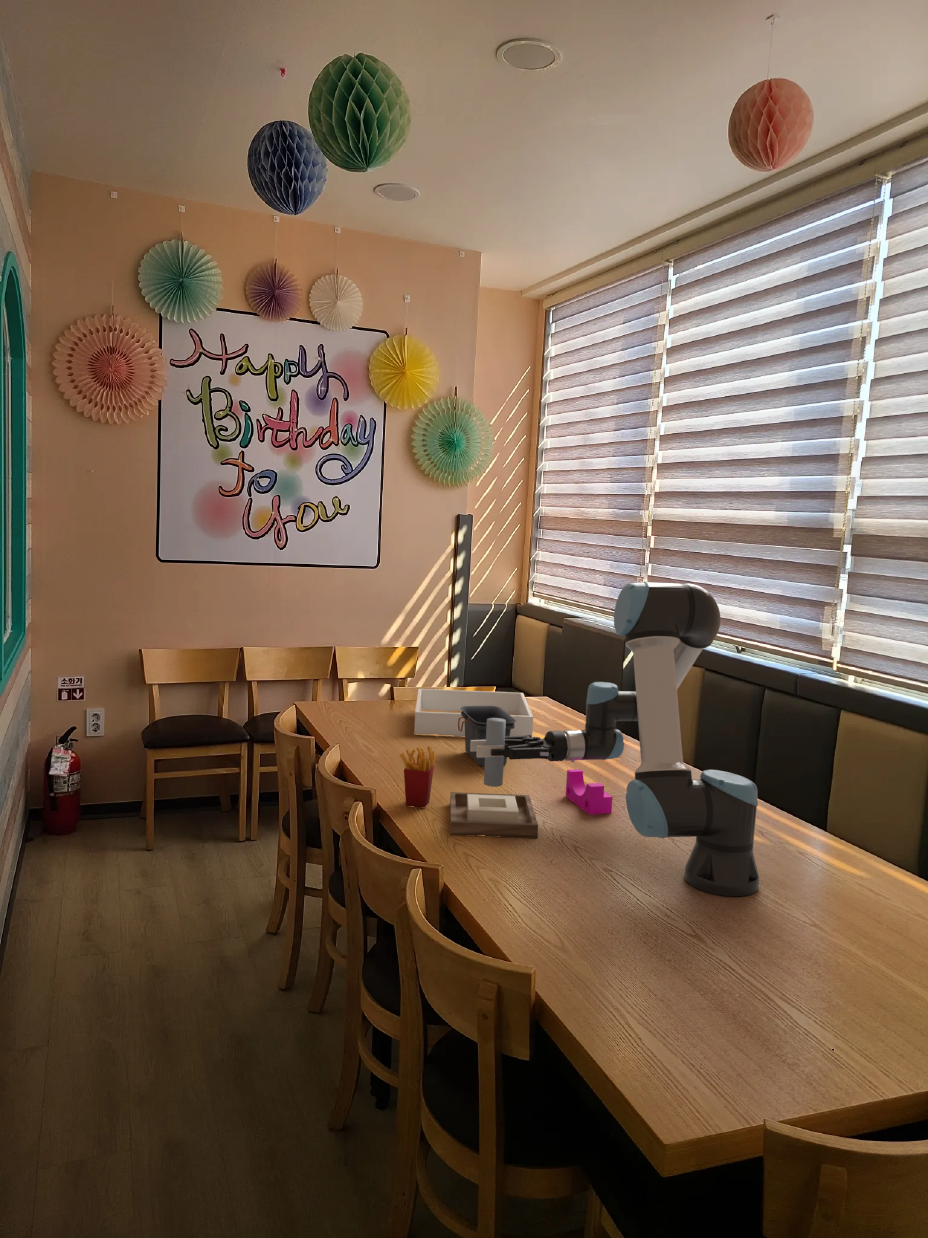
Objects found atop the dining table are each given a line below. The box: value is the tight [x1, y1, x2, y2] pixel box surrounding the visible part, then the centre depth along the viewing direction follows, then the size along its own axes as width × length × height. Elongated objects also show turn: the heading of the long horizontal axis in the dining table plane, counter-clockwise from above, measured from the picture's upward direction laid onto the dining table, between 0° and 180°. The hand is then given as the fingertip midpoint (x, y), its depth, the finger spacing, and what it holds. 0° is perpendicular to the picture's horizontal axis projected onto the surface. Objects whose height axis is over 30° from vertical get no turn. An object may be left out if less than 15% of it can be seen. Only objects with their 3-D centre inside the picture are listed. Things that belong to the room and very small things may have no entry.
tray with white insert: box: [449, 791, 539, 839], centre depth 223 cm, size 22×20×3 cm
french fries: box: [399, 746, 436, 808], centre depth 233 cm, size 9×8×15 cm
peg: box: [483, 718, 506, 788], centre depth 222 cm, size 5×5×16 cm
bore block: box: [467, 794, 519, 823], centre depth 223 cm, size 12×12×4 cm
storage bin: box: [458, 706, 516, 767], centre depth 277 cm, size 21×16×14 cm
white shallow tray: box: [413, 688, 534, 738], centre depth 322 cm, size 39×39×8 cm
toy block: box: [565, 768, 613, 815], centre depth 239 cm, size 15×6×8 cm, turn 17°
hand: (474, 748), depth 220 cm, fingers closed on peg, 4 cm apart
